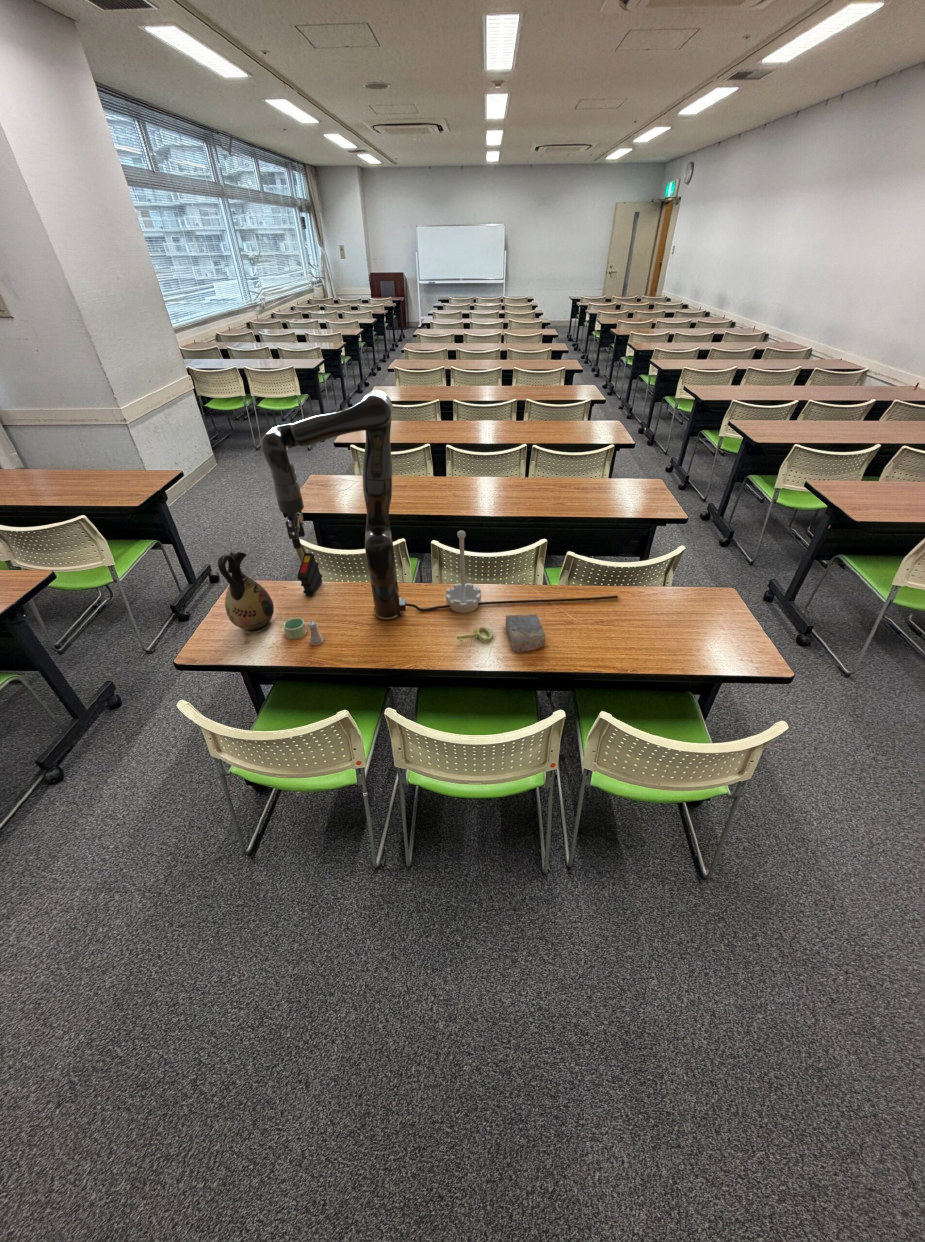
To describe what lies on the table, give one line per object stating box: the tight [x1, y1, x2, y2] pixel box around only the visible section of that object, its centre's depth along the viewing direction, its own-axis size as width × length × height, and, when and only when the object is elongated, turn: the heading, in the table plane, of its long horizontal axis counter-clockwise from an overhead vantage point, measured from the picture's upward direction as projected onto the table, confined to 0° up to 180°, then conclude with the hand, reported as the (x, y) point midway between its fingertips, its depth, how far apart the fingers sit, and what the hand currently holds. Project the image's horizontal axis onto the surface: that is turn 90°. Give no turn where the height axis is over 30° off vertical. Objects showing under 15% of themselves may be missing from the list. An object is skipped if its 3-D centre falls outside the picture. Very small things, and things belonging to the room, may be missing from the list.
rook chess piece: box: [307, 620, 324, 646], centre depth 173 cm, size 4×4×8 cm
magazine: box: [296, 552, 323, 597], centre depth 199 cm, size 4×13×15 cm, turn 173°
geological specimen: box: [505, 613, 546, 653], centre depth 172 cm, size 11×6×15 cm
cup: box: [283, 617, 307, 640], centre depth 178 cm, size 7×7×4 cm
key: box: [456, 626, 493, 643], centre depth 173 cm, size 7×12×2 cm, turn 126°
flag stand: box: [445, 530, 482, 614], centre depth 182 cm, size 13×13×30 cm
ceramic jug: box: [217, 551, 275, 635], centre depth 174 cm, size 17×15×30 cm
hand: (299, 542), depth 170 cm, fingers open, 8 cm apart
